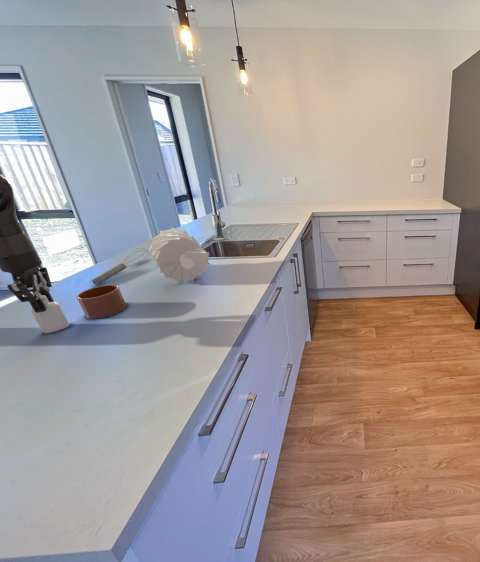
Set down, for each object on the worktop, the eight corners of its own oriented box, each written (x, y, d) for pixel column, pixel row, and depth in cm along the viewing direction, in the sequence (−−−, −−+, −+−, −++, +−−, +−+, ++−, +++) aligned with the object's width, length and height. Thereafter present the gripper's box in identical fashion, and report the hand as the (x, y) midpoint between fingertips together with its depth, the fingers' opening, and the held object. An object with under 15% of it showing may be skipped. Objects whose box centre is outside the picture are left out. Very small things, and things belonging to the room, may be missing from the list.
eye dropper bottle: (49, 327, 90) (29, 291, 85) (72, 323, 91) (54, 287, 86) (40, 334, 86) (18, 297, 81) (64, 330, 88) (45, 294, 83)
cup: (80, 321, 92) (70, 301, 89) (93, 307, 101) (84, 288, 98) (121, 314, 96) (112, 294, 93) (129, 300, 104) (122, 282, 101)
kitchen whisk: (84, 288, 115) (76, 272, 112) (144, 258, 146) (140, 245, 143) (99, 287, 115) (93, 272, 112) (157, 257, 146) (152, 245, 143)
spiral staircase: (182, 294, 116) (169, 273, 133) (221, 266, 123) (204, 249, 139) (144, 260, 104) (135, 242, 121) (189, 231, 110) (174, 217, 127)
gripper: (10, 245, 83) (41, 300, 90) (-25, 262, 71) (13, 323, 78) (46, 242, 86) (72, 295, 93) (17, 256, 74) (50, 316, 81)
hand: (45, 307), depth 86 cm, fingers closed on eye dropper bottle, 4 cm apart
